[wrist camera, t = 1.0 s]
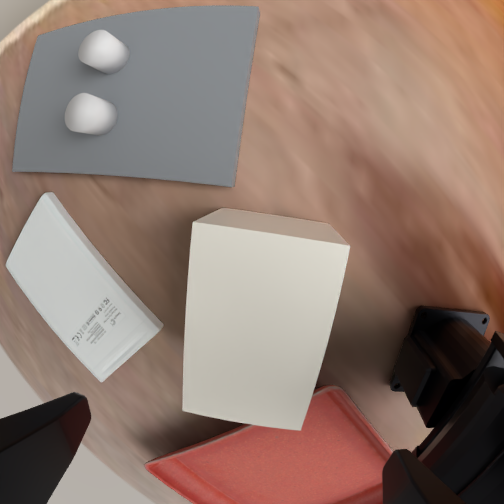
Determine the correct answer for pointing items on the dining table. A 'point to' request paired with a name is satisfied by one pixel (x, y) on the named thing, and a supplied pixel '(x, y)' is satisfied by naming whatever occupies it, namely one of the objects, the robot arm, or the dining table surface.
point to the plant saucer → (285, 460)
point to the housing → (259, 315)
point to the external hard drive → (79, 290)
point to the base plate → (140, 95)
